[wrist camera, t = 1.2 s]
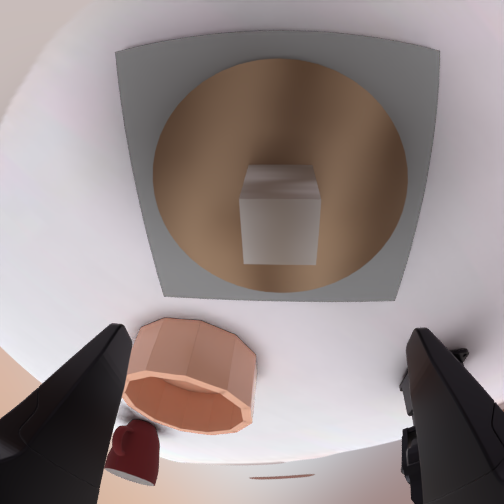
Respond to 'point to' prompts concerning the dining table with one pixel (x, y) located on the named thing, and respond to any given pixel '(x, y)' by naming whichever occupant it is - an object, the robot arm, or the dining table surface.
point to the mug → (135, 453)
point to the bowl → (191, 377)
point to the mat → (284, 47)
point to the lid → (280, 175)
